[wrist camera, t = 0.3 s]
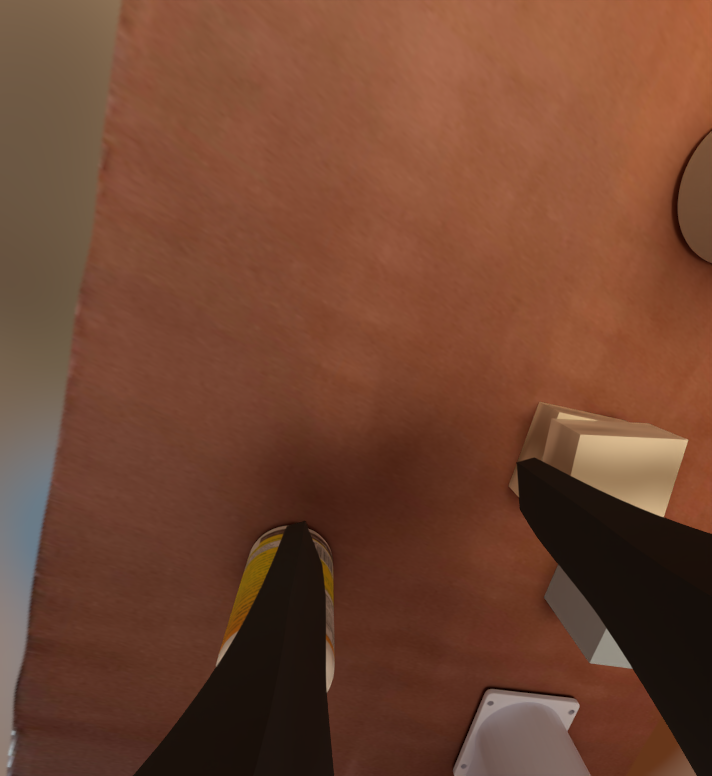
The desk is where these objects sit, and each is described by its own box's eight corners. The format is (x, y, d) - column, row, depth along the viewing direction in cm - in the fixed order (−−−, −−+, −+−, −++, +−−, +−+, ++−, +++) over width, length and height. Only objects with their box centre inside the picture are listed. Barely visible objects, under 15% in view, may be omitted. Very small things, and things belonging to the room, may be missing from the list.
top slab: (622, 513, 23) (656, 539, 21) (531, 510, 22) (555, 536, 20) (647, 423, 22) (688, 439, 19) (551, 418, 21) (580, 434, 19)
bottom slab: (585, 497, 26) (611, 519, 23) (505, 483, 25) (524, 503, 22) (619, 417, 24) (651, 431, 22) (535, 399, 23) (559, 412, 21)
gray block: (598, 605, 28) (654, 671, 23) (543, 596, 27) (589, 663, 22) (621, 554, 27) (686, 613, 22) (565, 545, 26) (618, 603, 21)
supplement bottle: (241, 581, 25) (182, 771, 15) (262, 511, 24) (212, 669, 14) (320, 598, 26) (313, 789, 16) (344, 531, 24) (352, 694, 15)
